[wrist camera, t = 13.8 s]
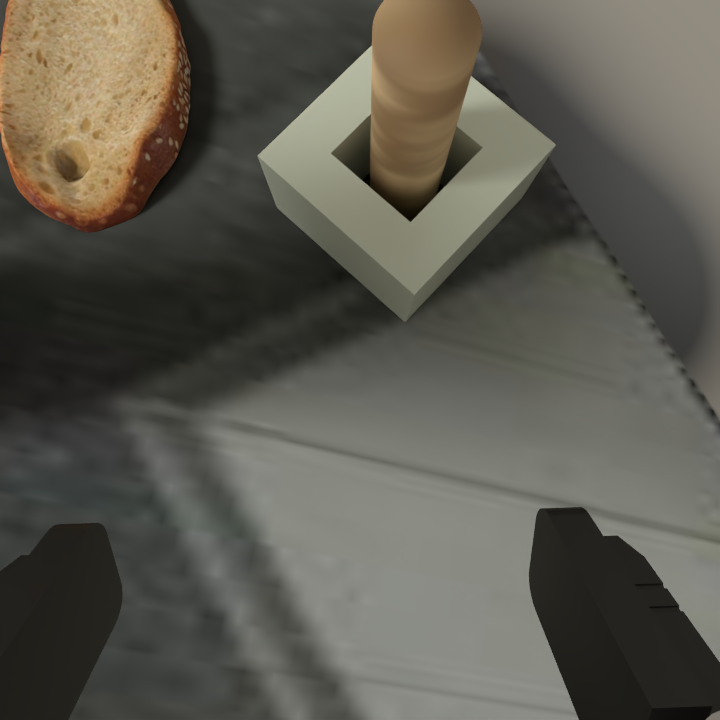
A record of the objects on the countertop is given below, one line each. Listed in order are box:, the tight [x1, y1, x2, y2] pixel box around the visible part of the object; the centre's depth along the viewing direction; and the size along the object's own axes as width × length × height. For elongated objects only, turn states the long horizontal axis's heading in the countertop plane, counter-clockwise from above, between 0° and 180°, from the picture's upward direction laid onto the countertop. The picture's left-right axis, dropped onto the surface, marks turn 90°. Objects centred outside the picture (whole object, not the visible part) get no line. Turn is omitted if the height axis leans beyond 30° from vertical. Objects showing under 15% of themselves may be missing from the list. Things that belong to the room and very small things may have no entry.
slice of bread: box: [0, 0, 191, 232], centre depth 33 cm, size 18×18×4 cm
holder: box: [258, 46, 556, 322], centre depth 29 cm, size 11×11×6 cm
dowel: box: [370, 0, 482, 222], centre depth 25 cm, size 4×4×14 cm
